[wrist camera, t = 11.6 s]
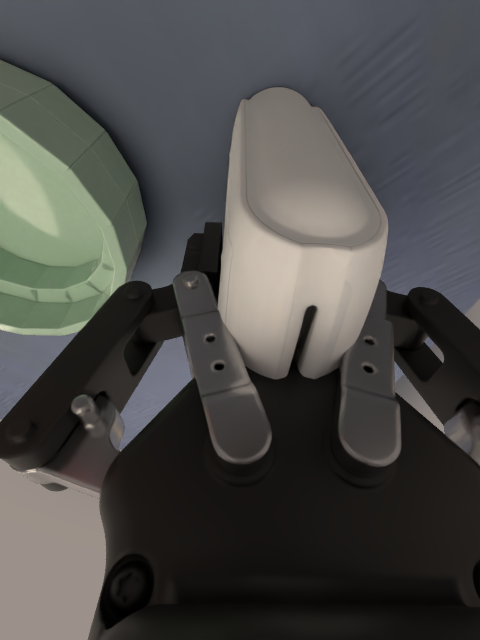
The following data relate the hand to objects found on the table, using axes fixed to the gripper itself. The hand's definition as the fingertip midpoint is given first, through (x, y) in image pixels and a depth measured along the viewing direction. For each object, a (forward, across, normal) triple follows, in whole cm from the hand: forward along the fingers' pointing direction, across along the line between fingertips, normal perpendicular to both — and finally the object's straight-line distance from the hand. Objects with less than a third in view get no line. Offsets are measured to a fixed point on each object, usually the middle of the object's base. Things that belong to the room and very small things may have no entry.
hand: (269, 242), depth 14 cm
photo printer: (+4, 0, 0) cm, 4 cm away
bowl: (+4, +13, 0) cm, 13 cm away
